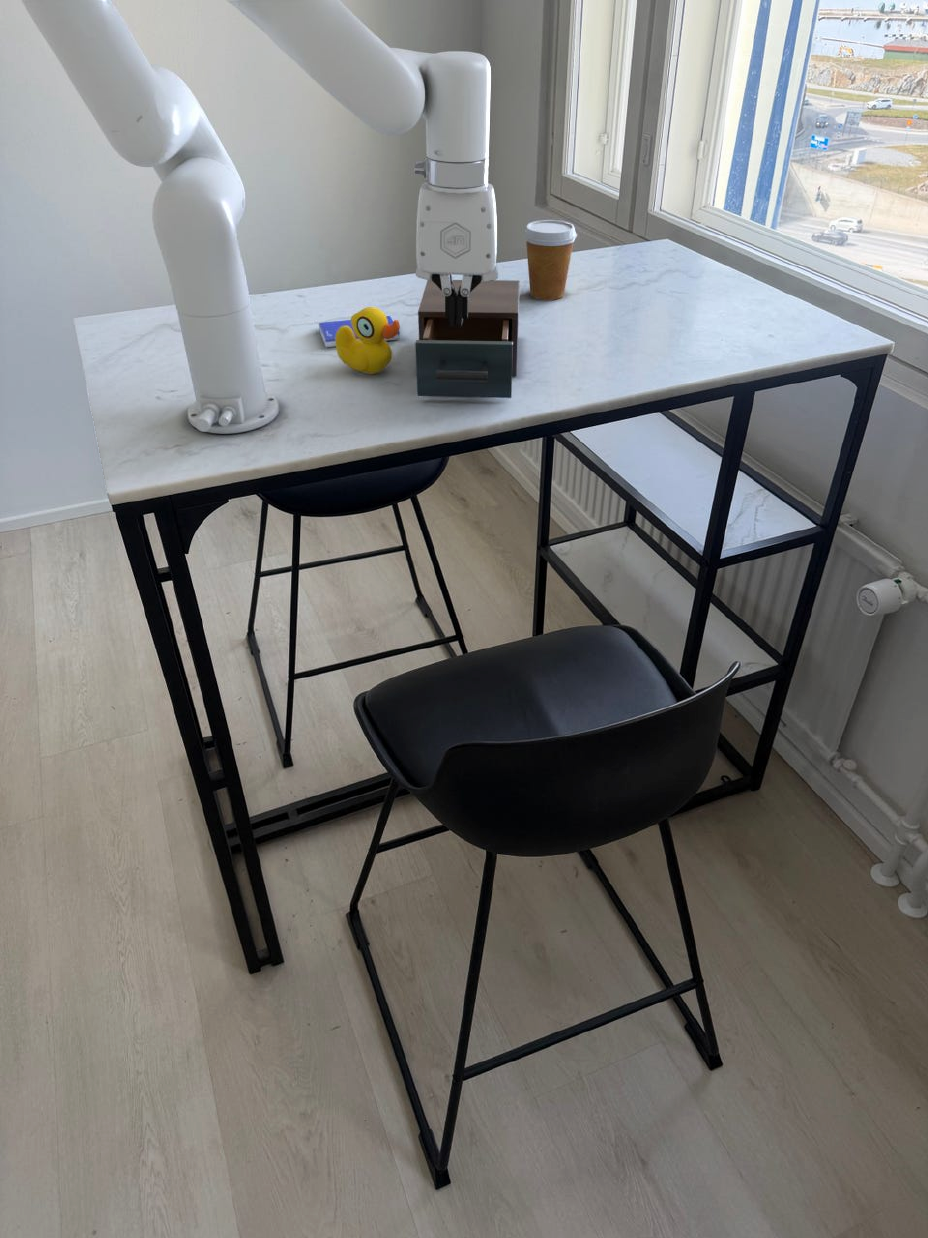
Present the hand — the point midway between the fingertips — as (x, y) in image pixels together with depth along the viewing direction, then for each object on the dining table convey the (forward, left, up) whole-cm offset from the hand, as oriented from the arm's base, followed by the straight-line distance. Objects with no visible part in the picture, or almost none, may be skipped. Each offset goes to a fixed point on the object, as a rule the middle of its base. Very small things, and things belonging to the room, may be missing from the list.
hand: (456, 322), depth 117 cm
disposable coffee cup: (+49, -13, -13) cm, 53 cm away
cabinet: (+19, -1, -12) cm, 22 cm away
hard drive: (+27, +19, -13) cm, 35 cm away
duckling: (+12, +15, -13) cm, 23 cm away
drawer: (+6, -1, -11) cm, 13 cm away
